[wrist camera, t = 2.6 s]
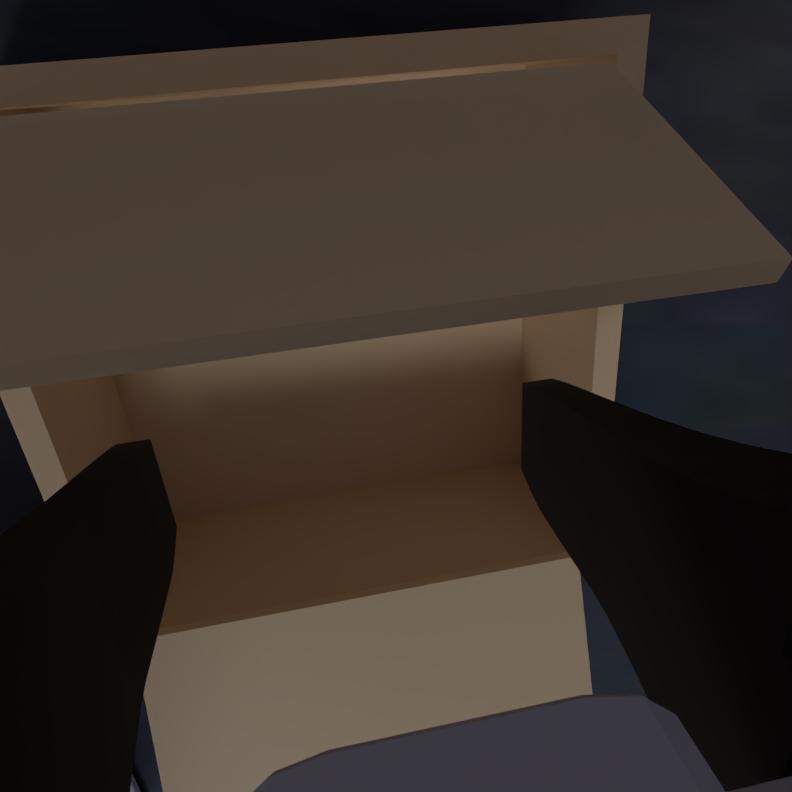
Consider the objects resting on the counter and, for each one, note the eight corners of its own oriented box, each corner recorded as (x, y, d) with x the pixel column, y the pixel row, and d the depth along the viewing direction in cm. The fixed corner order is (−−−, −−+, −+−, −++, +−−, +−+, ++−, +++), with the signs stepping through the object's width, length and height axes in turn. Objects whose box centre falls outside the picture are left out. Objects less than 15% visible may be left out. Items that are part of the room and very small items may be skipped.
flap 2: (578, 556, 16) (572, 550, 17) (132, 640, 15) (137, 632, 15) (598, 749, 17) (591, 739, 17) (174, 847, 16) (177, 834, 16)
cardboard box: (532, 468, 22) (599, 565, 17) (147, 534, 20) (110, 659, 16) (543, 36, 16) (650, 14, 11) (-5, 82, 14) (-134, 76, 10)
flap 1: (776, 282, 8) (792, 258, 8) (-183, 416, 7) (-212, 393, 6) (604, 84, 11) (610, 62, 11) (-51, 145, 10) (-65, 121, 10)
